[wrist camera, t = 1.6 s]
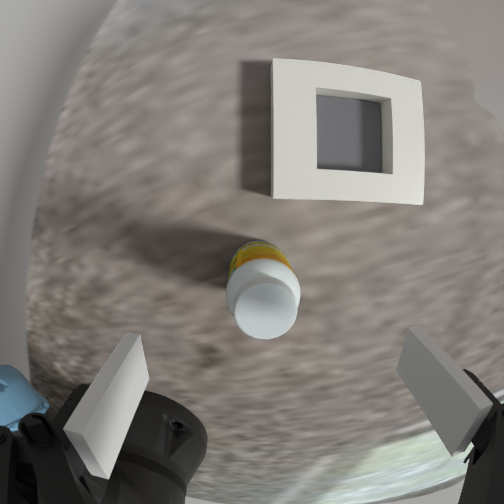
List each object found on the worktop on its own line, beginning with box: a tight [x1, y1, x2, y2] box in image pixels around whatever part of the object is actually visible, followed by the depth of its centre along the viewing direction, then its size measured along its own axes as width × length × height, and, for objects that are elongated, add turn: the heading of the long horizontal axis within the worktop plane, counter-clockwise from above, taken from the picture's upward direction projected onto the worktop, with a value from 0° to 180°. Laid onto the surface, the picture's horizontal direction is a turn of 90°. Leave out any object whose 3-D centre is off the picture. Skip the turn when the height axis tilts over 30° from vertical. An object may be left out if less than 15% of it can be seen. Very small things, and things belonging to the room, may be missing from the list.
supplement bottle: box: [226, 241, 300, 339], centre depth 23 cm, size 5×5×10 cm
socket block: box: [270, 58, 425, 205], centre depth 24 cm, size 14×12×2 cm
